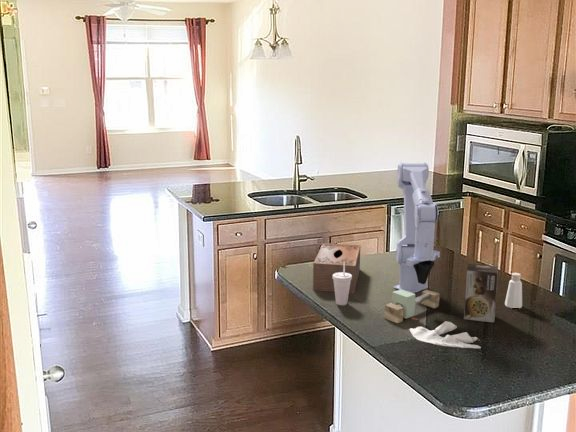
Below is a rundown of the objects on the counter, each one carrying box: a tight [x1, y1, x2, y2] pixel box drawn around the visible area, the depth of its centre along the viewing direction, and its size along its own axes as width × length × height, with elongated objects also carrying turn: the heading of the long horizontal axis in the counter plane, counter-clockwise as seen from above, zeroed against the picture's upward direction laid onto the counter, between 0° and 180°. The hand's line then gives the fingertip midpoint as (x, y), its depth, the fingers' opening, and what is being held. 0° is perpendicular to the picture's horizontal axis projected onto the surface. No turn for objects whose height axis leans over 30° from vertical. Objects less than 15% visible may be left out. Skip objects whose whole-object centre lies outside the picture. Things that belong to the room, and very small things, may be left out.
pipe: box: [389, 293, 431, 314], centre depth 192 cm, size 21×2×2 cm, turn 131°
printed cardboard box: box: [463, 263, 499, 323], centre depth 187 cm, size 9×6×16 cm
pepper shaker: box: [504, 272, 523, 309], centre depth 197 cm, size 5×5×11 cm
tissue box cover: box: [312, 242, 361, 294], centre depth 222 cm, size 26×14×10 cm, turn 170°
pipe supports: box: [384, 289, 440, 324], centre depth 192 cm, size 21×10×4 cm, turn 131°
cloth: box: [409, 320, 482, 349], centre depth 176 cm, size 20×22×2 cm
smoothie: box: [332, 262, 352, 306], centre depth 198 cm, size 6×6×14 cm
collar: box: [391, 289, 416, 319], centre depth 188 cm, size 4×6×7 cm
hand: (421, 283), depth 193 cm, fingers closed
